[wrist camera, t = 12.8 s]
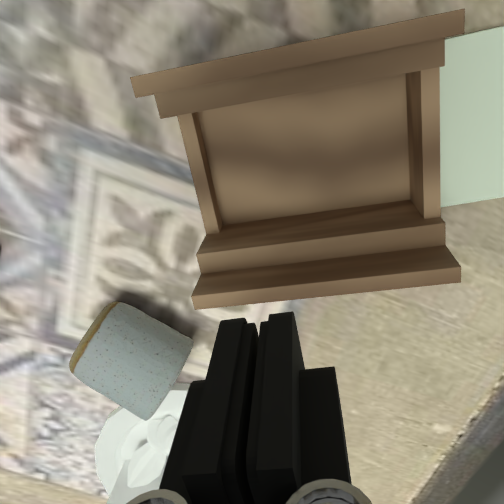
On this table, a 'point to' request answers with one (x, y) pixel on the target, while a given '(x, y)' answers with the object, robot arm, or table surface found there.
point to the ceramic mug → (130, 358)
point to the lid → (472, 118)
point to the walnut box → (316, 163)
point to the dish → (137, 448)
